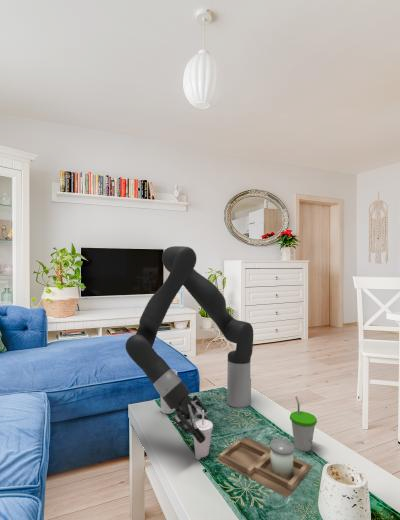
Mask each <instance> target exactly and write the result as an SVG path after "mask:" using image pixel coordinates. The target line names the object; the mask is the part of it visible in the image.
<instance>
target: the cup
mask: <svg viewBox="0 0 400 520" xmlns="http://www.w3.org/2000/svg"><path fill="white" fill-rule="evenodd" d="M295 400H296V403H297V411H293V412H291V413H290V414H289V419H290V421H291V427H292V429H291V430H292V435H293V442H294V443H293V445H294V449H296V450H298V451H301V452H303V453H304V452H305V453H306V452H309V451H312V450H311V449H312V445H313V440H314V433H315V427H316V425H317V423H318V421H317V420H318V419H317V417H316V416H315V415H314V414H312V413H310V412H307V411H301V410H300V407H301V406H300V402H299V398H298V396H297V395H296V396H295Z"/></svg>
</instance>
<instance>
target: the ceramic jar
mask: <svg viewBox="0 0 400 520" xmlns="http://www.w3.org/2000/svg"><path fill="white" fill-rule="evenodd" d="M269 447H270V449H271V454H270V471H271V473H273V474H275V475H277V476H280V477H282V478H284V479H289V478H291V477H292V476H293V458H294V453H295V446H294V443H293V442H291V441H290V440H288V439H286V438H273V439H272V440H270V442H269Z"/></svg>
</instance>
